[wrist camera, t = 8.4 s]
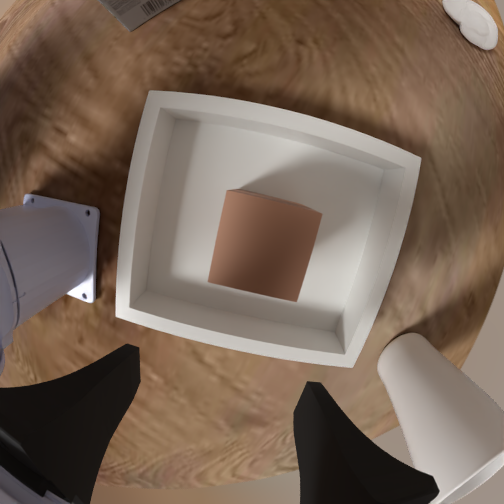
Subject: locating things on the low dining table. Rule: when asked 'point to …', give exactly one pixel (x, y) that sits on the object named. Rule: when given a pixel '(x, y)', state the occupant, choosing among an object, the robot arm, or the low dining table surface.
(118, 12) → the coffee box
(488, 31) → the dumpling
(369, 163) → the bin
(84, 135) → the low dining table surface
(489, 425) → the drinking glass
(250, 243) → the copper brown block
